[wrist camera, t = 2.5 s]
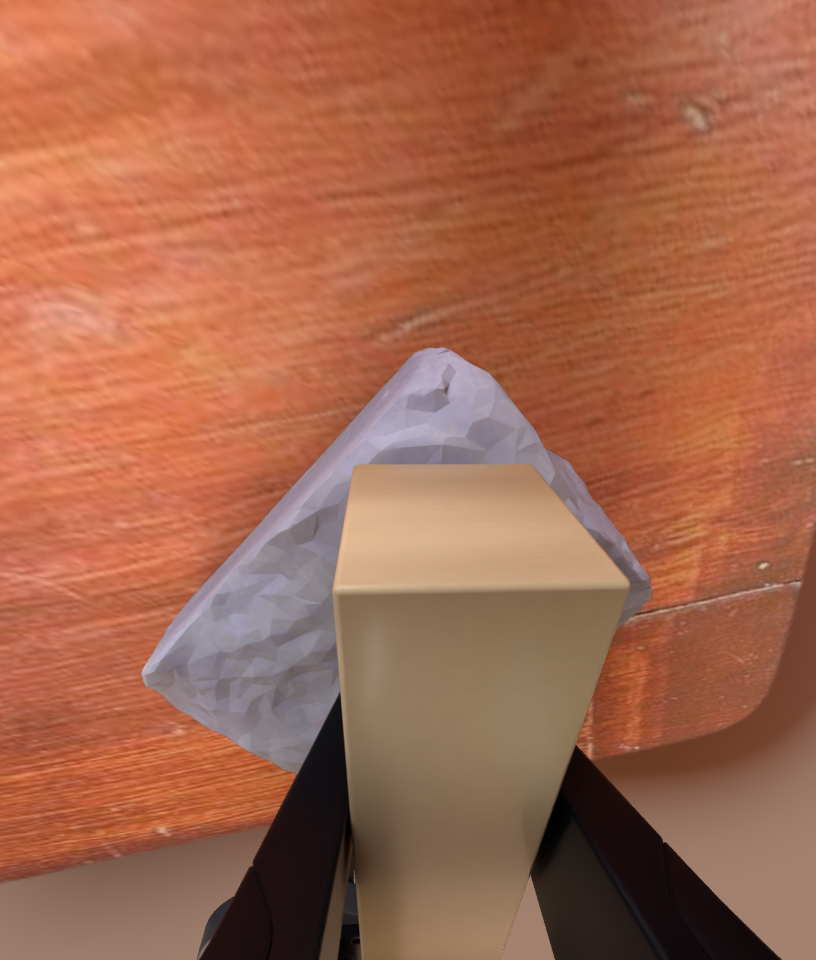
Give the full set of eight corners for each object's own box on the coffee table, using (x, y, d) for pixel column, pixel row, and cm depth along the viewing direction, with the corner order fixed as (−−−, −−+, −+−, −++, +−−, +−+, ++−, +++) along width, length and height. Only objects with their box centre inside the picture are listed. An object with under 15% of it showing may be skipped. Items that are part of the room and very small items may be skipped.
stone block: (603, 501, 14) (410, 298, 9) (715, 603, 10) (481, 342, 5) (386, 681, 17) (156, 598, 13) (408, 814, 13) (82, 768, 9)
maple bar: (471, 809, 11) (498, 970, 9) (367, 815, 11) (362, 981, 9) (532, 462, 7) (635, 582, 4) (352, 462, 6) (330, 590, 4)
